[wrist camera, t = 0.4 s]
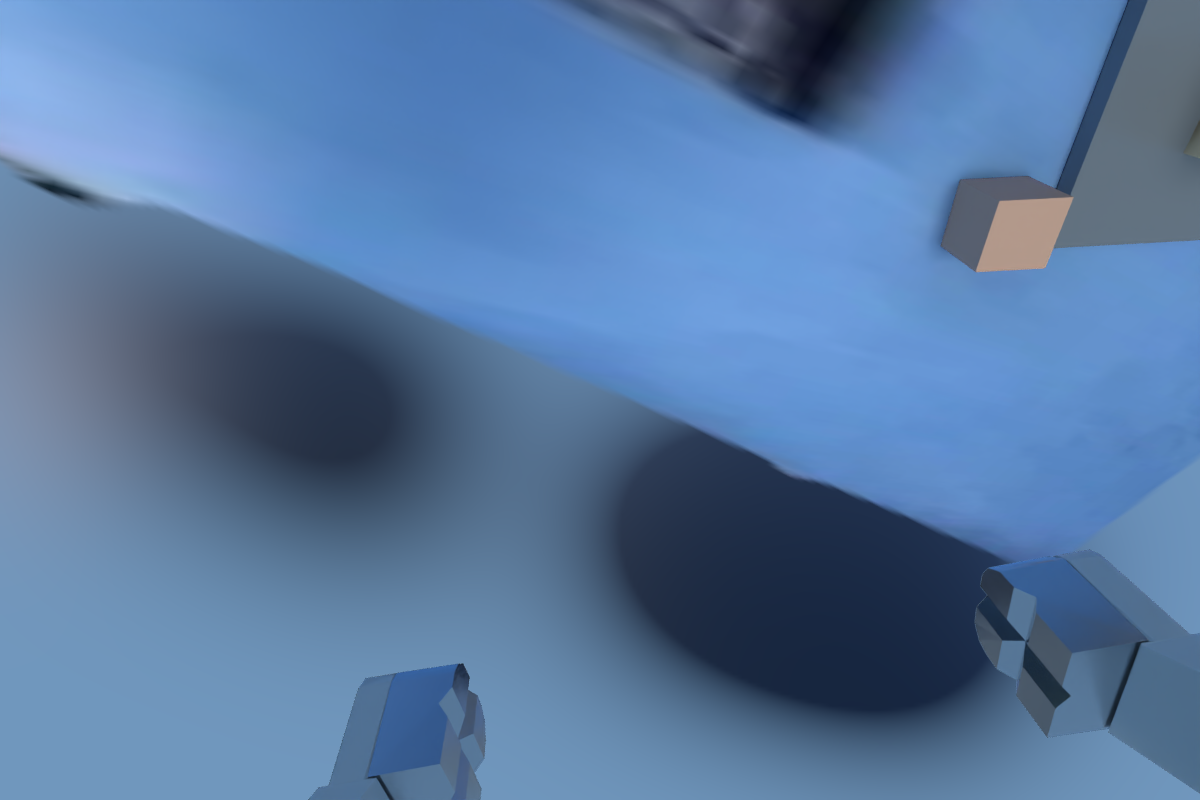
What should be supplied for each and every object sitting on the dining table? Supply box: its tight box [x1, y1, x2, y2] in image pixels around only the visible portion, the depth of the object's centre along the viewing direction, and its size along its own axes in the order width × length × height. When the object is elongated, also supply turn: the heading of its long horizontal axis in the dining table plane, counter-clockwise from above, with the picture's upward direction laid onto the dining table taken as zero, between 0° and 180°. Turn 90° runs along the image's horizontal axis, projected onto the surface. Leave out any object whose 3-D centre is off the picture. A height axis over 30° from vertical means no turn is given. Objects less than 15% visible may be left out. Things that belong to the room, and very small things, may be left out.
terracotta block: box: [941, 176, 1074, 272], centre depth 45 cm, size 5×5×5 cm
